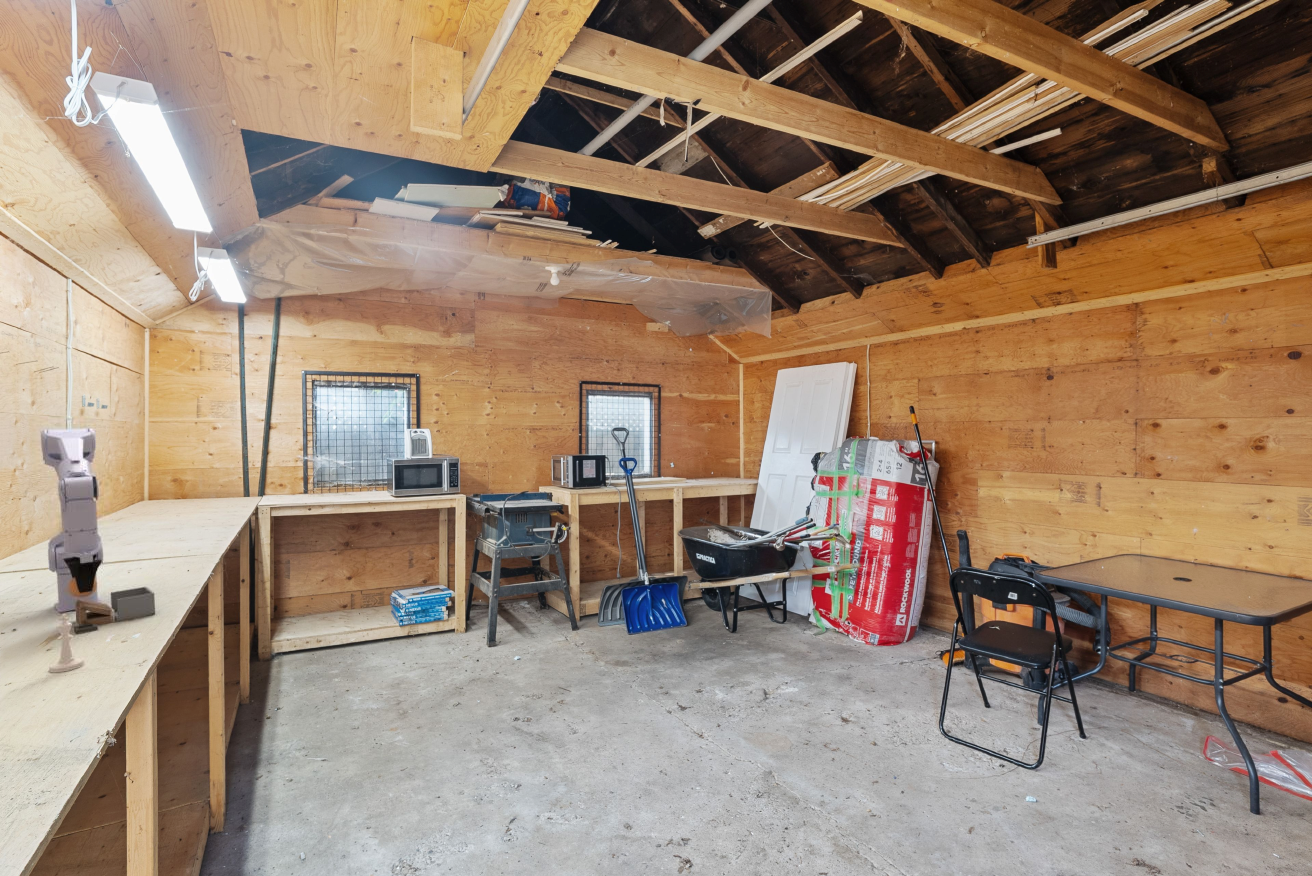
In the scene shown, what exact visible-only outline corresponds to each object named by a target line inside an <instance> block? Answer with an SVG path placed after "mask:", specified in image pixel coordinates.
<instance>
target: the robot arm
mask: <svg viewBox="0 0 1312 876" xmlns="http://www.w3.org/2000/svg"><path fill="white" fill-rule="evenodd" d="M96 443H97V442H96V433H95V429H93V428H92V427H88V428H57V429H55V428H51V429H48V428H43V429H42V430H41V431H40V444H41V447H40V448H41V453H42V461H44V464H45V465H47V466H50V467H52V468H54V470H55V473H56V474H57V477H58V483H57V485H58V486H57V488H58V500H59V502H60V503H59V504H60V516H61V527H62V531H61V532H59V533H58V534H56V535H55V536H53V537H52V538H50V540H49V542H48V544H47V546H48V548H47V554H48V555H47V557H48V569H49V571H51V572H52V573H55V574H56V579H57V580H56V581H57V582H56V583H57V600H58V601H57V602H54V603H53V606H54V607H55V609H56V610H57V613H64V612H69V611H76V610H75V602H76V601H77V599H83V600H88V601H93V602H98V603H103V602H102V601H101V600H100V599H99V598H98V587H97V588H96V590H95V591H94V592H93V593H92V594H90V595H89V596H86V597H75V596H73V595H71V594H70V593H69V591H68V584H69V582H70V581H71V580H72V579H73V578H74V577H75V580H76V584H77V588H78V591H79V593H84V592H90V591H92V589H93V585H94V580H95V579H96V581H97V579H98V578H97V572H98V569H99V567H100V566H101V565H102V564H103V563H104V550H103V549H104V548H103V543H102V539H101V536H100V534H99V532H98V531H99V529H98V515H97V514H98V512H97V510H98V509H97V501H98V499H99V496H100V495H99V491H100V490H99V481H98V478H97V476H96V475H95V473H93V470H92V466H91V465H92V464H91V463H93V460H94V458H95V450H96V445H97V444H96ZM94 499H95V500H94ZM97 582H98V581H97Z"/></svg>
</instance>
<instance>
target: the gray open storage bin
mask: <svg viewBox="0 0 1312 876" xmlns="http://www.w3.org/2000/svg"><path fill="white" fill-rule="evenodd" d="M155 604H156V603H155V592H154V591H152V590H151V589H150V588H149V587H147V586H142V587H136V588H130V589H124V590H118V591H112V592H110V607H111V608H112V609H113V610H114V615H115V622H121V621H126V620H132V619H137V618H143V617H148V616H153V615H156V607H155V606H156V605H155Z"/></svg>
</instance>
